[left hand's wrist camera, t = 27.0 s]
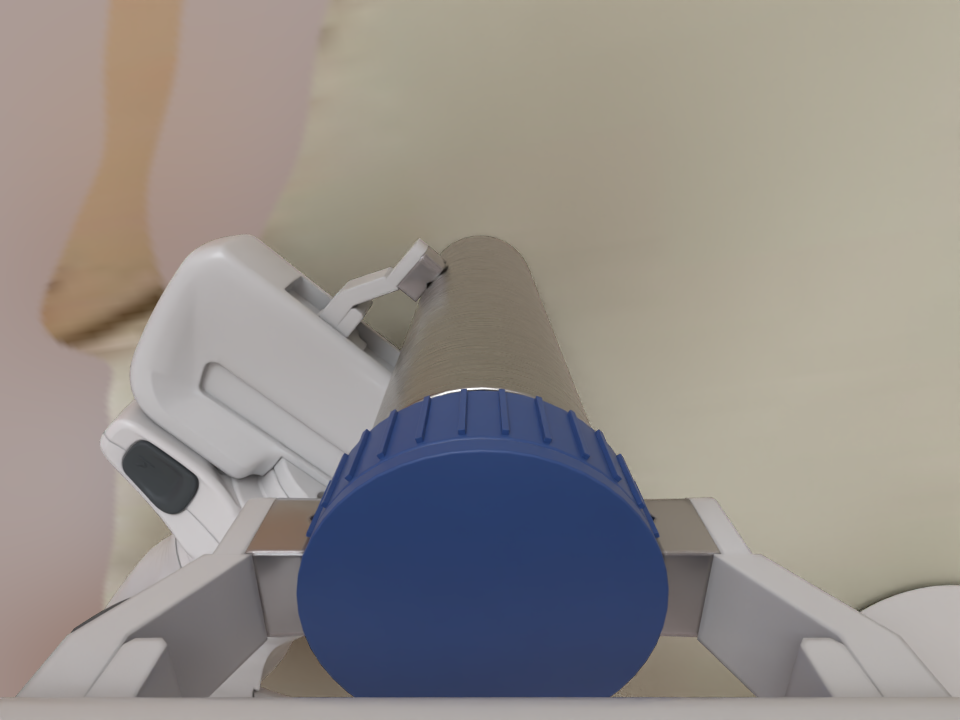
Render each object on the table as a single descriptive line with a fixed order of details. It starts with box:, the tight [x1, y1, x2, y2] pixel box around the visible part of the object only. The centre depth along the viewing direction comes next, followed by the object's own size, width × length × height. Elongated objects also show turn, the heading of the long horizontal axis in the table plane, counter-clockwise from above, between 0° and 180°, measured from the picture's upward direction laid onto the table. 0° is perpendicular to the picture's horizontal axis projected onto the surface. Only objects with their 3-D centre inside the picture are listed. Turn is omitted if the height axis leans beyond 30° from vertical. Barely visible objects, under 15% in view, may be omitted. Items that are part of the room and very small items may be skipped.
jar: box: [372, 236, 590, 429], centre depth 19 cm, size 5×5×20 cm
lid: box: [296, 389, 669, 697], centre depth 10 cm, size 6×6×2 cm
